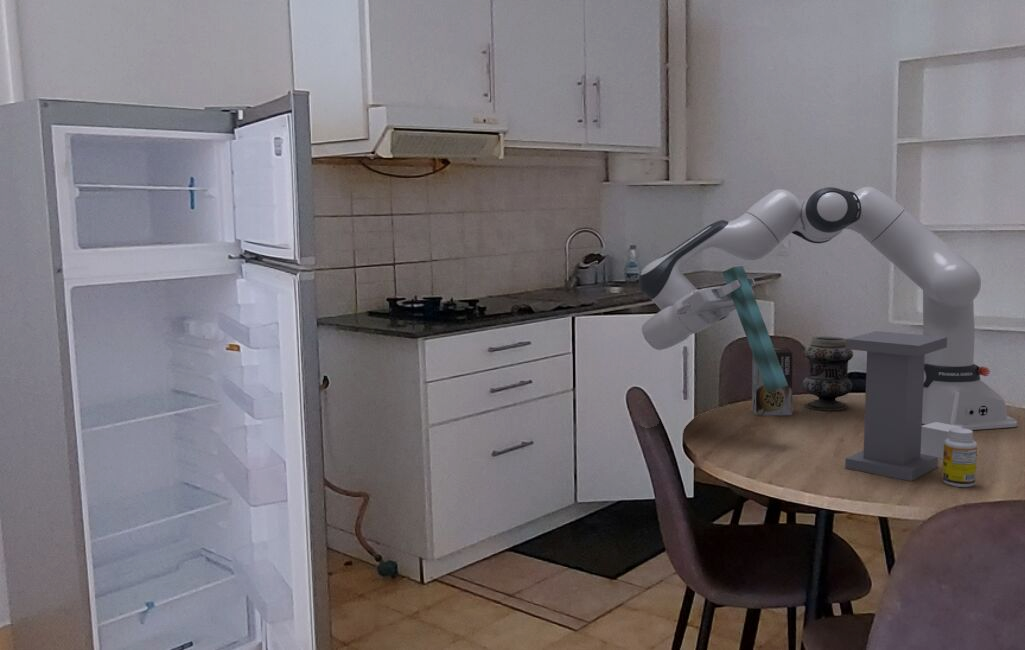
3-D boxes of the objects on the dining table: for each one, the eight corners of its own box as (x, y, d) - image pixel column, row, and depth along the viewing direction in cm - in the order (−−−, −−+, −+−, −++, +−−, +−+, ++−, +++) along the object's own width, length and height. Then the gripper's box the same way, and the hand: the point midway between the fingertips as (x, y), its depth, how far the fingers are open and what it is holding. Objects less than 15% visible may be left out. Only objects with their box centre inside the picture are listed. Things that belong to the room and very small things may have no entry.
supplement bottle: (944, 477, 176) (946, 425, 174) (976, 481, 173) (979, 428, 171) (940, 485, 171) (942, 431, 170) (973, 489, 168) (976, 435, 167)
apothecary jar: (859, 406, 237) (862, 337, 235) (838, 414, 229) (840, 342, 226) (815, 399, 246) (817, 333, 243) (793, 407, 237) (795, 338, 235)
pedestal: (841, 468, 183) (845, 338, 179) (871, 454, 192) (876, 331, 189) (913, 482, 173) (918, 345, 169) (941, 466, 183) (947, 337, 179)
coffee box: (787, 410, 234) (788, 347, 232) (792, 416, 228) (794, 351, 225) (750, 410, 235) (751, 347, 233) (754, 415, 228) (756, 351, 226)
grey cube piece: (946, 460, 187) (947, 431, 187) (918, 454, 192) (920, 426, 192) (962, 455, 191) (963, 427, 190) (934, 449, 196) (935, 421, 195)
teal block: (722, 272, 203) (733, 267, 201) (731, 270, 206) (742, 265, 204) (767, 392, 198) (778, 388, 196) (776, 389, 201) (788, 385, 199)
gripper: (667, 301, 204) (714, 272, 195) (717, 293, 218) (763, 266, 209) (678, 326, 203) (726, 299, 193) (728, 317, 217) (775, 291, 208)
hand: (746, 282), depth 201 cm, fingers closed on teal block, 4 cm apart
